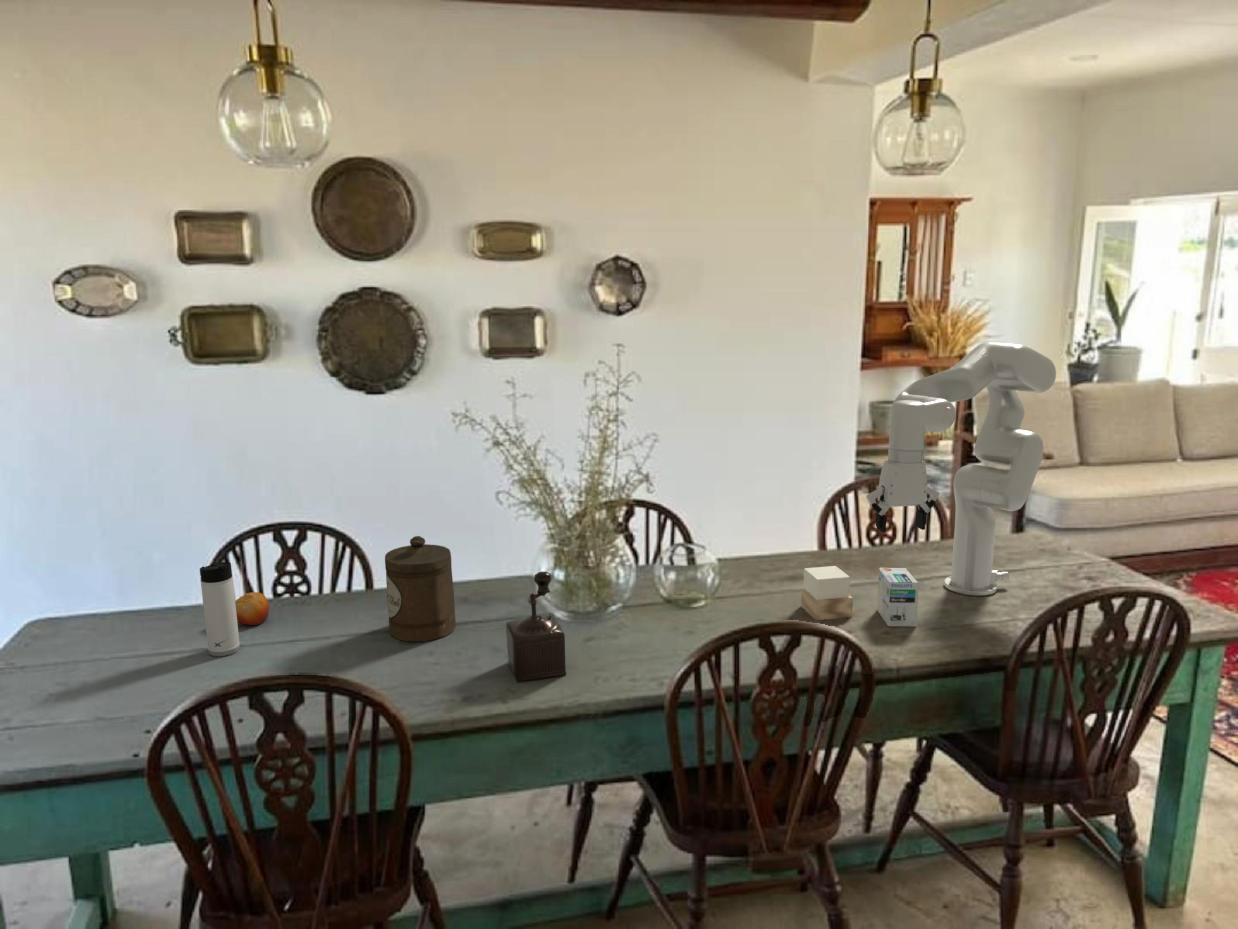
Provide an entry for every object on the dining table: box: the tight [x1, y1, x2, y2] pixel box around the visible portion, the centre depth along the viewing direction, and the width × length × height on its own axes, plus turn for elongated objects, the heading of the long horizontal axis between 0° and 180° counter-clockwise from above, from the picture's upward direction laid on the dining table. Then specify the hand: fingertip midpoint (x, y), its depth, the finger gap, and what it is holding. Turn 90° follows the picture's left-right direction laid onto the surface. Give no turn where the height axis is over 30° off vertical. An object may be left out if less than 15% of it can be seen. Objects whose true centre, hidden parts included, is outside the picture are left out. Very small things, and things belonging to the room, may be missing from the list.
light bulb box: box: [876, 567, 920, 628], centre depth 216 cm, size 11×7×11 cm, turn 179°
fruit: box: [235, 591, 270, 626], centre depth 218 cm, size 8×8×8 cm
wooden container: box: [384, 535, 457, 643], centre depth 211 cm, size 15×15×22 cm
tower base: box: [800, 587, 854, 621], centre depth 221 cm, size 9×9×5 cm
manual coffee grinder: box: [505, 571, 567, 684], centre depth 193 cm, size 16×11×18 cm
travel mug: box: [199, 561, 241, 657], centre depth 200 cm, size 6×7×20 cm
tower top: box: [802, 565, 851, 600], centre depth 220 cm, size 8×8×5 cm
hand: (900, 529), depth 212 cm, fingers open, 9 cm apart
